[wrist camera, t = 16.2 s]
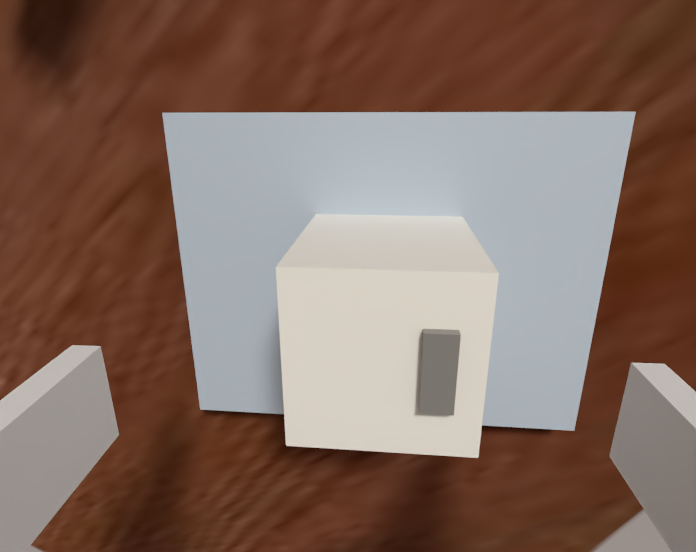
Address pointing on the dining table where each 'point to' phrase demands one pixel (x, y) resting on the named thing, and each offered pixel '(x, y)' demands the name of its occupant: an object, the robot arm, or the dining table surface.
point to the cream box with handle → (386, 334)
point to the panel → (402, 200)
